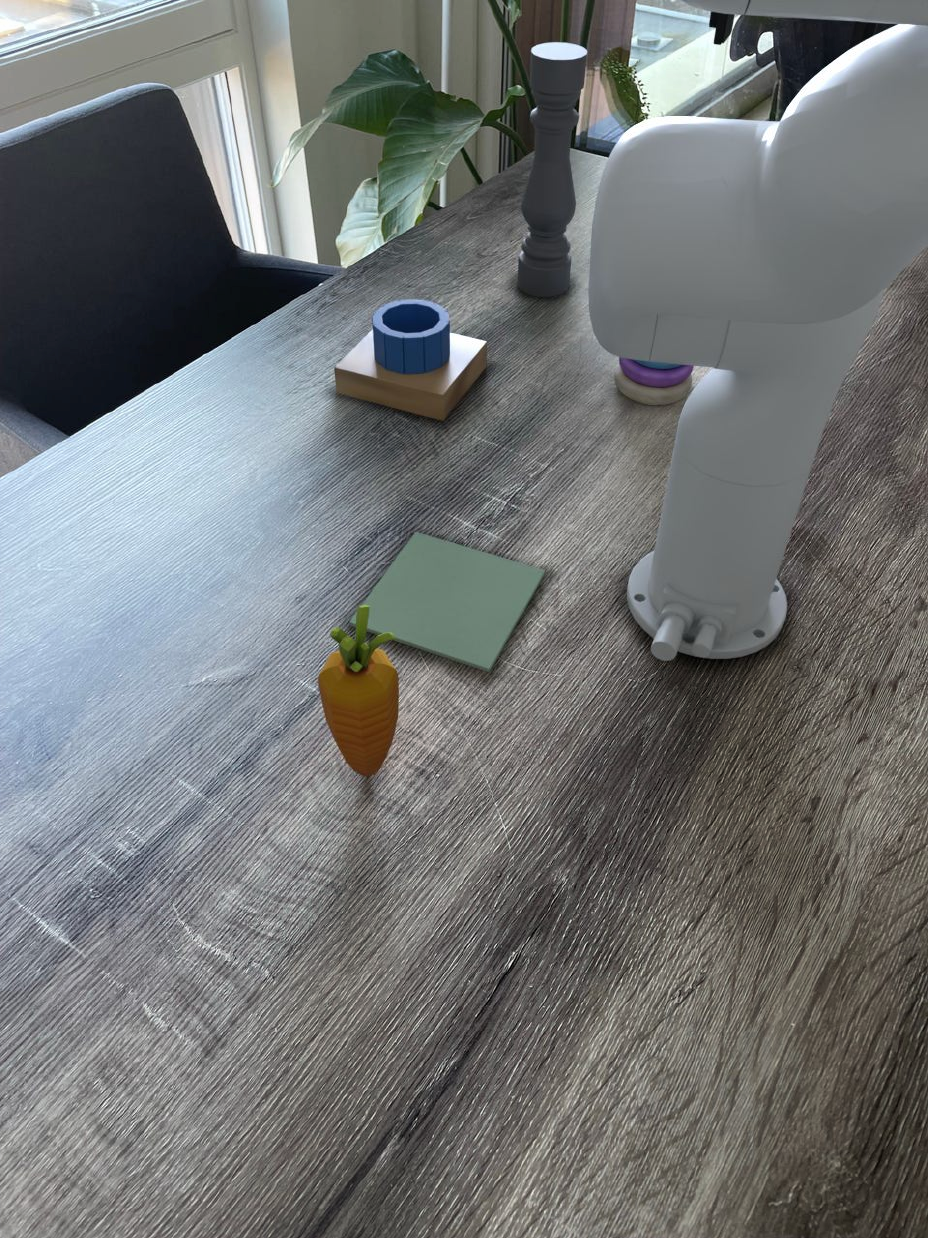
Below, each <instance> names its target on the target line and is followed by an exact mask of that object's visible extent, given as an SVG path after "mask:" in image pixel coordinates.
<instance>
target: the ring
mask: <svg viewBox="0 0 928 1238" xmlns="http://www.w3.org/2000/svg"><path fill="white" fill-rule="evenodd" d="M371 322H372V329H373V340H374V355H375V361H376V362H377V363H378V364H380V365H381V366H382V367H383V368H384V369H387V370H388V371H392V372H396V373H400V374H404V373H405V374H421V373H424V372H425V373H427V372H430V371H432V370H435V369H438V368H440V367H442V366H443V365H444V364H445V362H446V361H447V360H448V359H449V358H450V333H451V320H450V316H449V312H448V310H446V309H445V308H444V307H443V306H441V305H440V304H438V303H436V302H433V301H429V300H424V299H418V298H416V299H413V298H411V299H399V300H394V301H391V302H388V303H385V304H383V305H381V306H380V307H378V308H377V309H376V310H375V312H373V314H372V315H371Z"/></svg>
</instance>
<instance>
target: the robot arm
mask: <svg viewBox="0 0 928 1238" xmlns="http://www.w3.org/2000/svg"><path fill="white" fill-rule="evenodd" d="M680 1H681V2H683V3H685V4H686V5H688V6H691V7H693V8H697V9H700V10H703V11H707V12H710V15H709V21H708V27H709V28H713V29H715V31H714V37H713V45H717V46H721V45H722V44H725V42H726V41H727V40H728V38H729V37H730V36H731V34H732V31H733V28H734V22H735V15H736V16H754V17H755V16H757V17H773V18H775V17H776V18H789V19H790V18H791V19H810V20H827V21H845V22H847V21H848V22H854V25H853V30H852V33H851V36H850V37H851V38H850V41H849V44H848V49H847V51H846V52H844V53H843V54H841V55H840V56H839V57H837V58H836V59H835V60H833V61H832V62H831V63H829V64H828V65H827V66H825V67H824V68H822V69H821V70H820V71H819V72H818V73H817V74H815V75H814V76H813V77H812V78H811V79H810V80H809V81H808V82H807V83H806V84H805V85H803V87H802V88H801V89H800V90H799V92H798V93H797V94H796V95H795V97H794V98H793V99H792V100H791V102H790V103H789V105H788V106H787V107H786V109H785V111H784V113H783V115H782V117H781V119H780V120H779V121H777V120H774V121H773V120H771V121H770V120H754V119H753V120H751V119H736V118H721V117H720V118H719V117H718V118H717V117H704V116H689V115H688V116H687V115H686V116H684V115H683V116H679V115H677V116H676V115H675V116H673V115H672V116H659V117H654V118H650V119H646V120H643V121H641V122H639V123H637V124H635V125H633V126H632V127H630V128H628V130H626V131H625V132H624V133H623V134H622V135H621V136H620V138H619V139H618V140H617V142H616V143H615V144H614V147H613V148H612V149H611V151H610V153H609V156H608V158H607V161H606V162H605V165H604V169H603V172H602V175H601V177H600V181H599V184H598V189H597V193H596V198H595V204H594V212H593V217H592V224H591V233H590V234H591V236H590V250H589V251H590V252H589V272H588V273H589V274H588V312H589V318H590V324H591V327H592V331H593V334H594V337H595V338H596V340H597V341H598V344H599V345H600V346H601V347H602V348H603V349H604V350H605V351H606V352H607V353H609V354H611V355H613V356H615V357H618V358H619V357H621V358H626V359H633V360H641V361H649V362H660V363H670V364H681V365H691V366H694V367H703V368H711V369H710V370H709V371H708V372H707V373H706V374H705V375H704V376H703V378H702V379H701V380H700V381H699V382H698V383H697V385H696V386H695V387H694V388H693V390H692V391H691V393H690V394H689V396H688V397H687V399H686V401H685V403H684V405H683V407H682V410H681V413H680V415H679V419H678V423H677V429H676V433H675V438H674V444H673V450H672V456H671V460H670V466H669V469H668V470H669V471H668V477H667V480H666V486H665V491H664V492H665V493H664V497H663V502H662V507H661V513H660V518H659V522H658V529H657V534H656V539H655V545H654V549H653V550H652V551H650V552H648V553H647V554H646V555H644V557H642V558H641V559H640V560H639V561H638V562H637V563H636V564H635V566H634V567H633V569H632V570H631V573H630V575H629V578H628V583H627V587H626V590H627V591H626V600H627V604H628V605H627V606H628V609H629V611H630V613H631V615H632V617H633V618H634V621H635V622H636V623H637V624H638V625H639V626H640V628H641V629H642V630H643V631H644V632H645V633H646V634H648V635H649V636H650V637H651V638H652V639H653V641H652V643H651V645H650V652H651V654H652V655H653V656H654V657H655V658H656V659H658V660H661V661H663V662H664V661H665V662H670V661H672V660H674V659H675V658H676V656H677V654H678V652H679V653H681V654H685V655H688V656H692V657H697V658H701V659H702V658H703V659H711V660H720V659H721V660H729V659H735V658H741V657H742V658H743V657H745V656H749V655H751V654H754V653H757V652H759V651H760V650H763V649H764V648H766V647H768V645H770V644H771V643H772V642H773V641H774V640H776V638H777V637H778V636H779V634H780V632H781V631H782V629H783V626H784V624H785V621H786V618H787V612H788V600H787V595H786V592H785V590H784V588H783V585H782V584H781V583H780V581H779V580H778V575H779V572H780V569H781V566H782V563H783V560H784V557H785V554H786V550H787V547H788V543H789V539H790V537H791V535H792V531H793V527H794V525H795V521H796V519H797V515H798V512H799V509H800V505H801V503H802V499H803V496H804V493H805V490H806V486H807V483H808V480H809V477H810V474H811V471H812V467H813V465H814V462H815V459H816V454H817V452H818V449H819V446H820V443H821V440H822V436H823V434H824V431H825V428H826V426H827V422H828V420H829V416H830V414H831V411H832V409H833V406H834V404H835V402H836V399H837V396H838V394H839V392H840V390H841V387H842V385H843V382H844V381H845V379H846V377H847V375H848V373H849V371H850V369H851V367H852V366H853V363H854V361H855V360H856V358H857V356H858V354H859V352H860V351H861V349H862V346H863V345H864V344H865V341H866V339H867V337H868V335H869V334H870V332H871V329H872V327H873V325H874V323H875V321H876V318H877V316H878V314H879V311H880V307H881V304H882V300H883V298H884V293H885V289H886V288H887V287H888V286H889V285H890V284H891V283H892V282H893V281H894V280H895V279H896V278H897V277H898V276H900V274H901V273H902V272H903V271H904V270H905V269H906V268H907V267H908V266H909V265H910V264H911V263H912V262H913V261H914V260H915V259H916V258H917V257H918V256H919V255H920V254H921V253H922V252H923V251H924V250H925V249H926V248H927V247H928V0H680ZM878 24H891V25H894V26H892V27H891V26H890V27H889V28H887V29H885V30H883V31H881V32H879V33H877V34H876V31H877V28H878Z"/></svg>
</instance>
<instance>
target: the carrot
mask: <svg viewBox="0 0 928 1238" xmlns="http://www.w3.org/2000/svg"><path fill="white" fill-rule="evenodd" d="M361 605H362V604H361ZM361 605H358V606H357V610H356V612H357V617H356V628H355V637H354V638H352V637H350V636H349V635H348V634H347V633H346V631H344V630H343V629H342V628H341V627H339V626H336V627H333V628H332V629H331V630H330V633H329V637H330V638H332V640H334V641H335V642H336V643H338V650H337V651H334V652H331V653H330V654H329V656H328V658H326V661H325V663H324V665H323V666H322V669H320V670H321V671H320V672H319V673H318V676H317V677H318V678H317V685H318V690H319V697H320V700H321V701H320V702H321V705H322V709H323V713H324V714H323V715H324V718H325V721H326V725H327V726H328V729H329V731H330V734H331V736H332V737H333V741H334V742H335V744H336V747H337V749H338V750H339V751H340V753H341V756H342V757H343V759H344V761H345V762H346V764H347V765H348V766H349V767H350V768H351V770H353V771H354V772H355V773H357V774H358V775H360V776H362V777H365V778H369V777H372V776H374V775H376V774H377V773H378V771H380V769H381V768H382V766H383V764H384V762H385V761H386V758H387V756H388V754H389V752H390V750H391V747H392V744H393V742H394V737H395V734H396V729H397V725H398V721H399V711H400V709H399V707H400V686H399V685H400V683H399V682H400V681H399V673H398V671H397V670H396V668H395V666H394V665H393V663H392V661H391V660H390V659H389V657H388V655H387V653H386V652H385V651H384V649H380V648H379V647H380V646H381V645H383V644H385V643H388V642H391V641H394V640H393V639H395V636H394V634H393V633H392V632H388V633H383V634H381V635H376V636H375V637H374V638H373V639H372V640H371V641H370V642H369V643H366V637H367V625H368V618H369V606H368V605H362V606H361ZM354 639H355V640H354Z"/></svg>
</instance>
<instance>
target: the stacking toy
mask: <svg viewBox="0 0 928 1238" xmlns="http://www.w3.org/2000/svg"><path fill="white" fill-rule="evenodd" d="M694 367H695V366H691V365H681V364H670V363H660V362H649V361H641V360H633V359H626V358H621V357H618V364H617V366H616V367H615V370H614V374H613V380H614V383H615V386H616V388H617V389H618V391H619V392H620V393H621V394H622V395H624V396H625V397H627V398H628V399H630V400H631V401H635V402H637V403H641V404H644V405H649V406H650V405H651V406H664V405H669V404H673V403H676V402H679V401H680V400H682V399H684V398H685V396H687V395H688V394H689V392H690V391H691V388H692V386H693V376H692V373H693V370H694Z"/></svg>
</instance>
